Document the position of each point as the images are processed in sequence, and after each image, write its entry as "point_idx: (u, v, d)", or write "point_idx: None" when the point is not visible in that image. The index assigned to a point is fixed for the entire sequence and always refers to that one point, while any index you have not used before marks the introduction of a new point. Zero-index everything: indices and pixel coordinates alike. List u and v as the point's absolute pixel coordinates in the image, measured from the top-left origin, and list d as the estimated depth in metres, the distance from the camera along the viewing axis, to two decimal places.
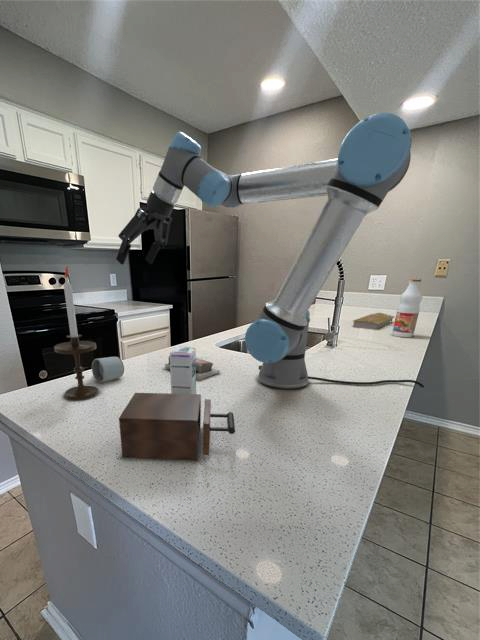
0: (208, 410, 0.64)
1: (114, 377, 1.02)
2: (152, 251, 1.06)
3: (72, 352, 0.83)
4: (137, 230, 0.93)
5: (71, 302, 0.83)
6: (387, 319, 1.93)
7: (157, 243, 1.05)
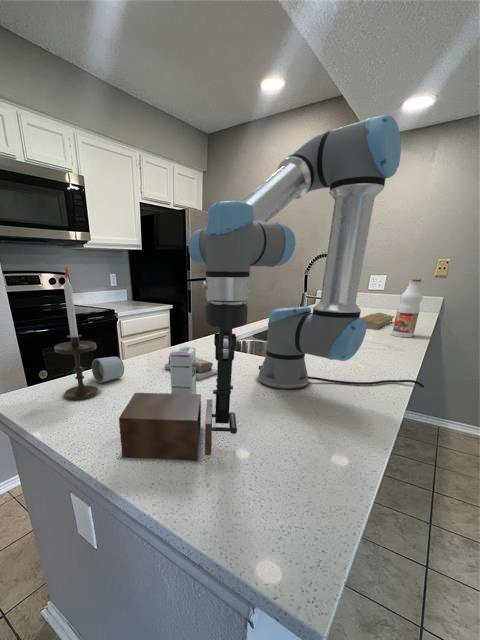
0: (210, 410, 0.64)
1: (114, 377, 1.02)
2: None
3: (72, 352, 0.83)
4: None
5: (71, 302, 0.83)
6: (387, 319, 1.93)
7: None
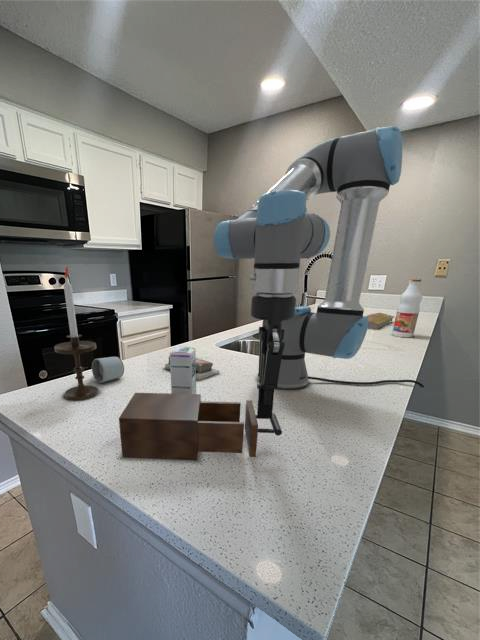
0: (253, 411, 0.64)
1: (114, 377, 1.02)
2: None
3: (72, 352, 0.83)
4: None
5: (71, 302, 0.83)
6: (387, 319, 1.93)
7: None
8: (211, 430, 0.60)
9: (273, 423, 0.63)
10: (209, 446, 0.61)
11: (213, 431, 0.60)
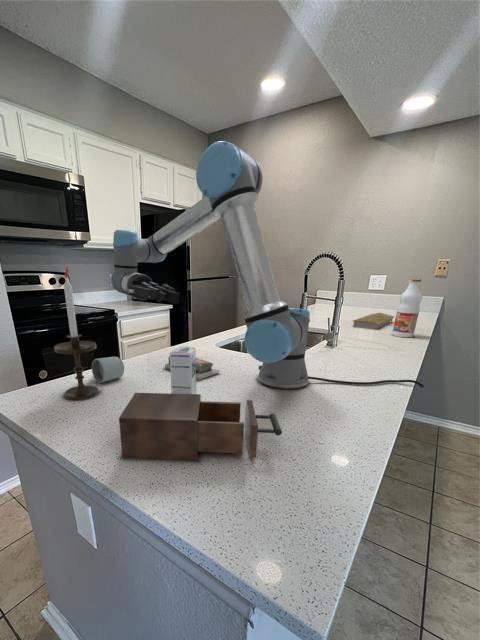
0: (253, 411, 0.64)
1: (114, 377, 1.02)
2: None
3: (72, 352, 0.83)
4: None
5: (71, 302, 0.83)
6: (387, 319, 1.93)
7: None
8: (211, 430, 0.60)
9: (273, 423, 0.63)
10: (209, 446, 0.61)
11: (213, 431, 0.60)
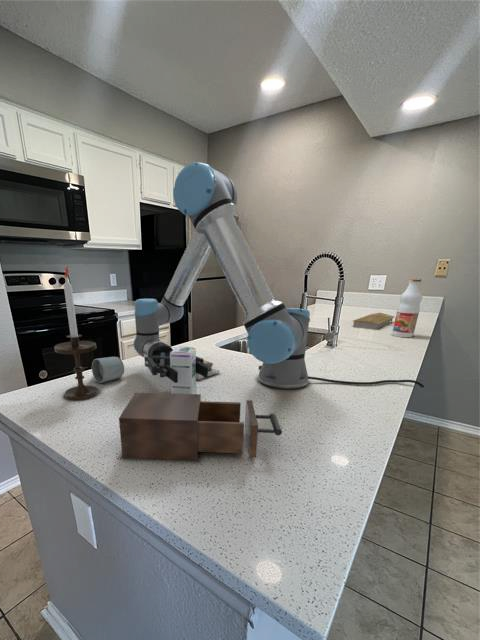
0: (253, 411, 0.64)
1: (114, 377, 1.02)
2: (198, 369, 0.86)
3: (72, 352, 0.83)
4: None
5: (71, 302, 0.83)
6: (387, 319, 1.93)
7: None
8: (211, 430, 0.60)
9: (273, 423, 0.63)
10: (209, 446, 0.61)
11: (213, 431, 0.60)
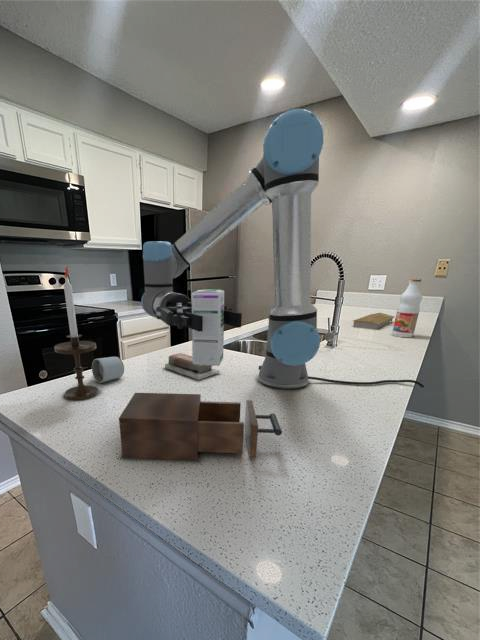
0: (253, 411, 0.64)
1: (114, 377, 1.02)
2: (227, 318, 0.65)
3: (72, 352, 0.83)
4: None
5: (71, 302, 0.83)
6: (387, 319, 1.93)
7: None
8: (211, 430, 0.60)
9: (273, 423, 0.63)
10: (209, 446, 0.61)
11: (213, 431, 0.60)
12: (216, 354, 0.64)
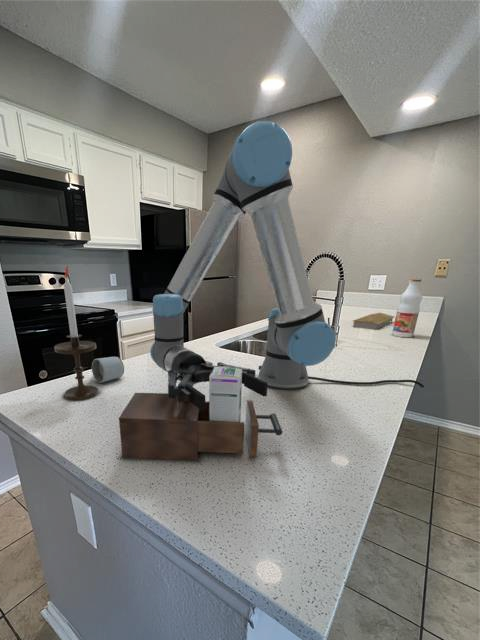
0: (253, 411, 0.64)
1: (114, 377, 1.02)
2: (251, 384, 0.65)
3: (72, 352, 0.83)
4: None
5: (71, 302, 0.83)
6: (387, 319, 1.93)
7: None
8: (212, 430, 0.60)
9: (274, 423, 0.63)
10: (209, 446, 0.61)
11: (214, 431, 0.60)
12: None
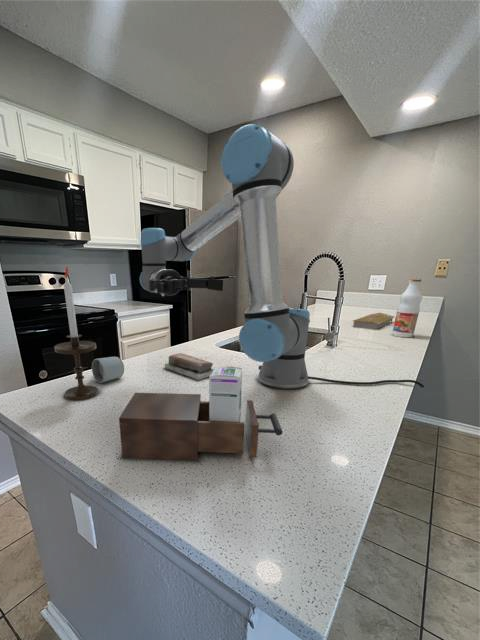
0: (253, 411, 0.64)
1: (114, 377, 1.02)
2: (212, 285, 0.86)
3: (72, 352, 0.83)
4: None
5: (71, 302, 0.83)
6: (387, 319, 1.93)
7: None
8: (212, 430, 0.60)
9: (274, 423, 0.63)
10: (209, 446, 0.61)
11: (214, 431, 0.60)
12: None
